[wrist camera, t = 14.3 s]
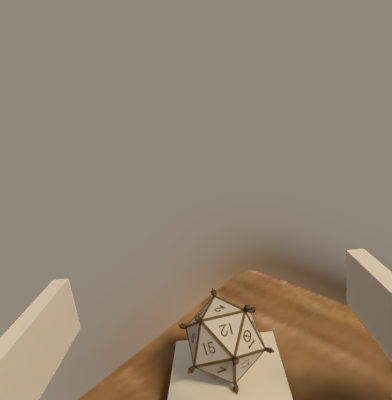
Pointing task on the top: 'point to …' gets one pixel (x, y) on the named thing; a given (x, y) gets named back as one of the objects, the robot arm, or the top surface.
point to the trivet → (223, 390)
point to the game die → (224, 340)
